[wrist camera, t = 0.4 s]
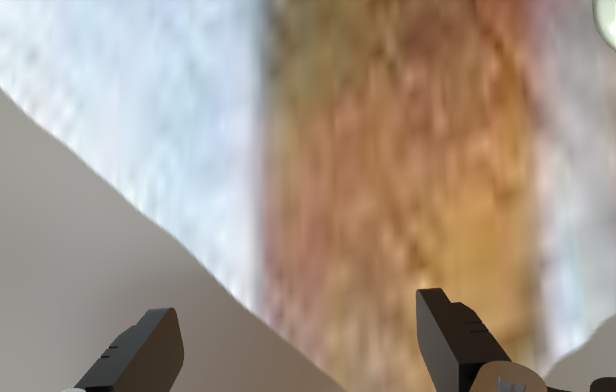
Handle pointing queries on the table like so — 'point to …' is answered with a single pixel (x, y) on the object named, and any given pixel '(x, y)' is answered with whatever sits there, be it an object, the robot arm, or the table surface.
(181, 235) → the table surface
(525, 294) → the table surface
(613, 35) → the white plate
